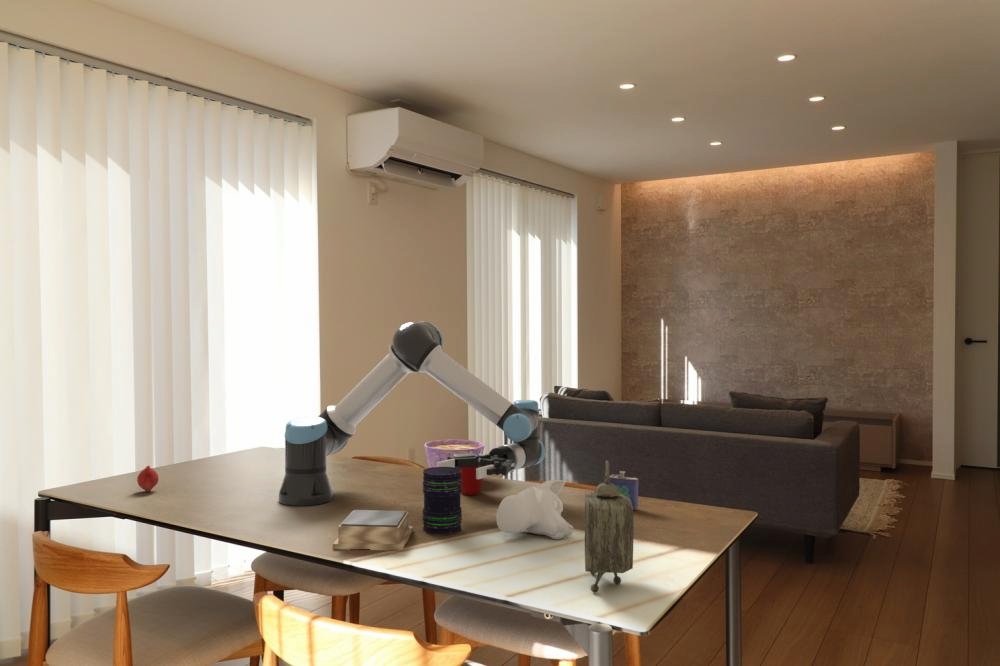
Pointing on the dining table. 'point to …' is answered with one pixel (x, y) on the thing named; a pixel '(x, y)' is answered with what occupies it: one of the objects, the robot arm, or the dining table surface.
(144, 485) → the onion
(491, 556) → the dining table surface
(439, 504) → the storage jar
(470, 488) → the plastic cup
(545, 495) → the fox head
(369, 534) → the plinth
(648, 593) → the dining table surface
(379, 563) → the dining table surface
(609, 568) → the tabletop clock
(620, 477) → the flask
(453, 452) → the bowl of food
